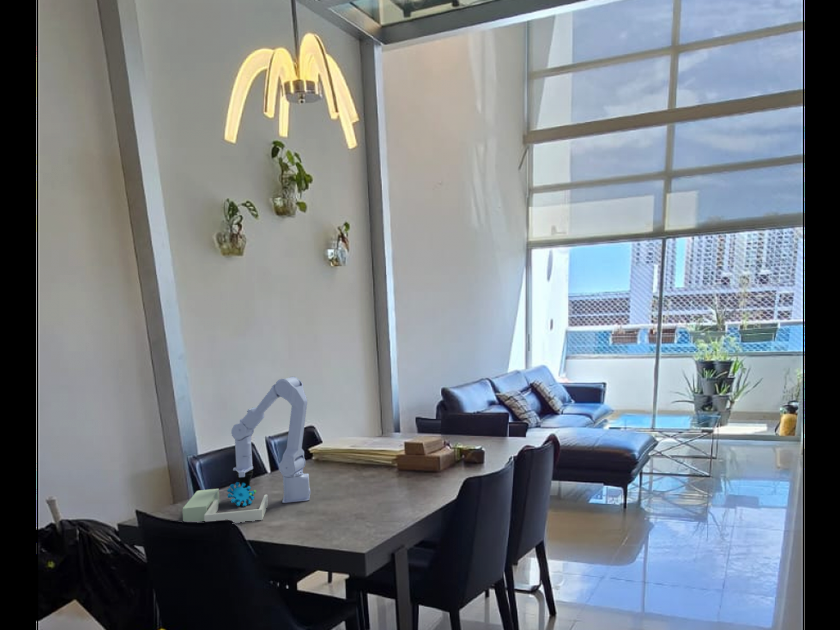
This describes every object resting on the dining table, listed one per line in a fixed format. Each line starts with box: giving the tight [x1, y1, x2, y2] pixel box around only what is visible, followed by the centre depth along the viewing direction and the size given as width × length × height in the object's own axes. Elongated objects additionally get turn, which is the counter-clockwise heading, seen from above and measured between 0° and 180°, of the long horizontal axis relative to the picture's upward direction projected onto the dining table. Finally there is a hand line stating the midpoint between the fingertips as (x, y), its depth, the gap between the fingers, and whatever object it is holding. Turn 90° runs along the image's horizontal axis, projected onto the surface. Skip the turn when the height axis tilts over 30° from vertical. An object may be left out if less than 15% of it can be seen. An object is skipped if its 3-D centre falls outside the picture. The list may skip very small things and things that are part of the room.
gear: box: [226, 481, 257, 507], centre depth 213 cm, size 11×6×10 cm
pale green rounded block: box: [182, 488, 220, 522], centre depth 205 cm, size 8×22×5 cm, turn 9°
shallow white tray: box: [204, 494, 269, 524], centre depth 200 cm, size 18×18×4 cm
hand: (245, 492), depth 219 cm, fingers closed
